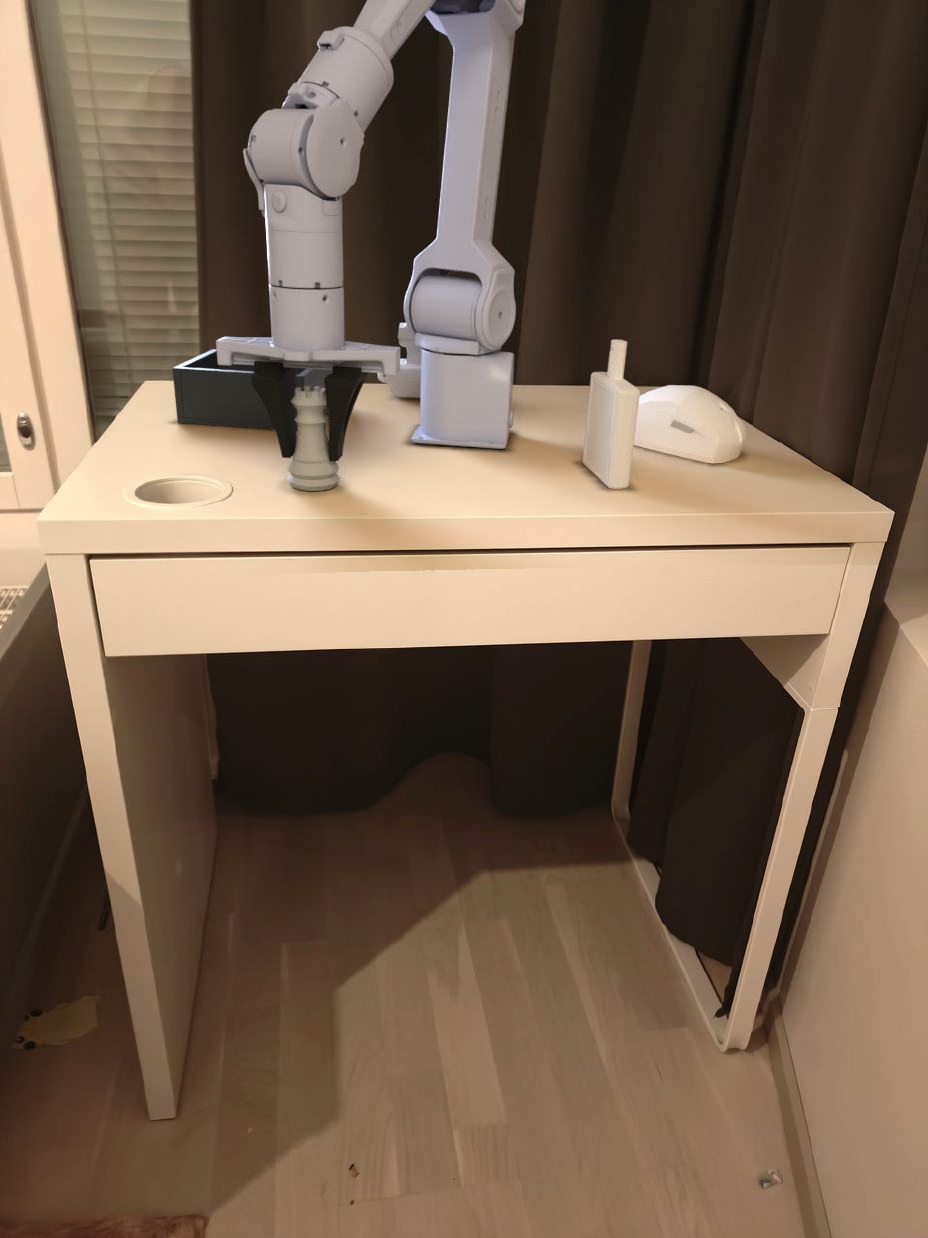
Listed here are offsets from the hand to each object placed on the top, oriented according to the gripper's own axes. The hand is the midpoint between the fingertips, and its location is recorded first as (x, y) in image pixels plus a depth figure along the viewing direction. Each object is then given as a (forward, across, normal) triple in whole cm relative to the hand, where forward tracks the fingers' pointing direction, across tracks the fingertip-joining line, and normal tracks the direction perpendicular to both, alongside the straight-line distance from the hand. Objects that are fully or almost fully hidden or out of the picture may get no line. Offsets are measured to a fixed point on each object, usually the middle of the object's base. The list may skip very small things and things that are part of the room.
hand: (312, 456), depth 76 cm
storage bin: (+2, -12, +23) cm, 26 cm away
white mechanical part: (+3, +3, +37) cm, 37 cm away
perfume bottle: (+3, +25, +9) cm, 27 cm away
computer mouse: (+3, +33, +21) cm, 39 cm away
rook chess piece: (+3, 0, 0) cm, 3 cm away
